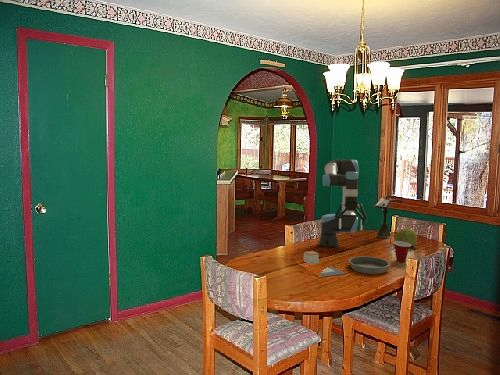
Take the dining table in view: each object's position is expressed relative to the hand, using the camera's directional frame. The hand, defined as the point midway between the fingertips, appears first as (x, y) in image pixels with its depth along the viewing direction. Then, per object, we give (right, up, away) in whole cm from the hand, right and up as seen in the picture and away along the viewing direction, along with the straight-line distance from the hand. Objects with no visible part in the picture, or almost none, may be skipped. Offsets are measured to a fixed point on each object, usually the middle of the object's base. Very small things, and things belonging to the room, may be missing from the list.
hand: (350, 229), depth 268 cm
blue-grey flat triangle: (-22, -23, -4) cm, 32 cm away
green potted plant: (+52, -17, +47) cm, 72 cm away
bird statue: (+44, -14, +74) cm, 88 cm away
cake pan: (+10, -24, -6) cm, 27 cm away
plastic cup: (+36, -22, +10) cm, 43 cm away
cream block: (-25, -22, +3) cm, 33 cm away
